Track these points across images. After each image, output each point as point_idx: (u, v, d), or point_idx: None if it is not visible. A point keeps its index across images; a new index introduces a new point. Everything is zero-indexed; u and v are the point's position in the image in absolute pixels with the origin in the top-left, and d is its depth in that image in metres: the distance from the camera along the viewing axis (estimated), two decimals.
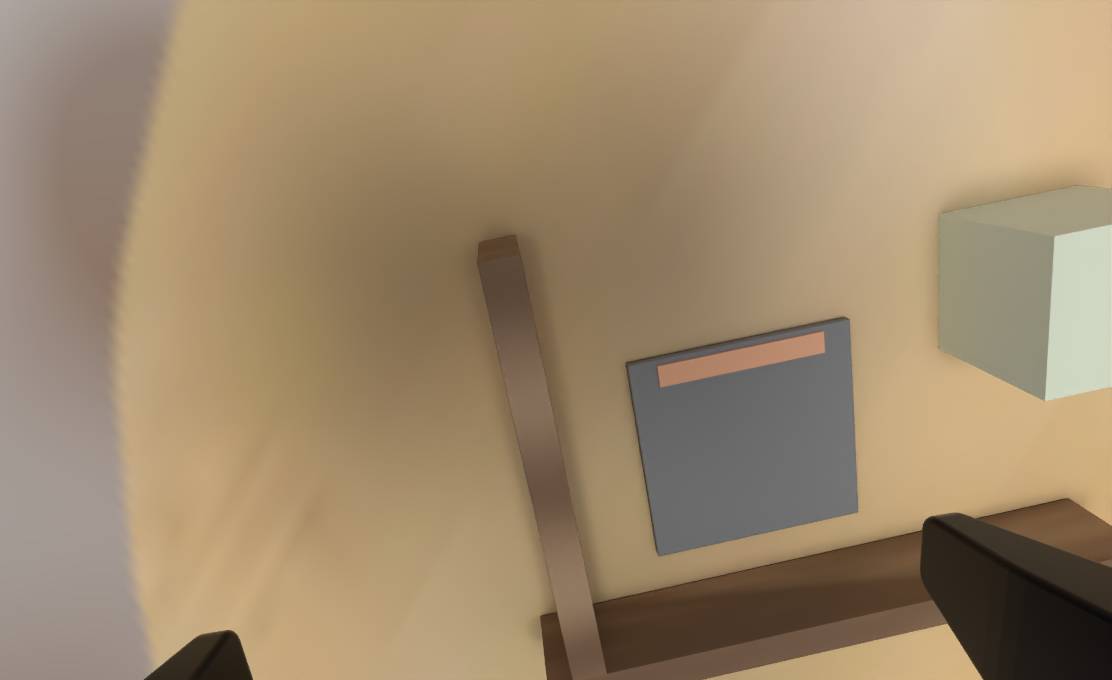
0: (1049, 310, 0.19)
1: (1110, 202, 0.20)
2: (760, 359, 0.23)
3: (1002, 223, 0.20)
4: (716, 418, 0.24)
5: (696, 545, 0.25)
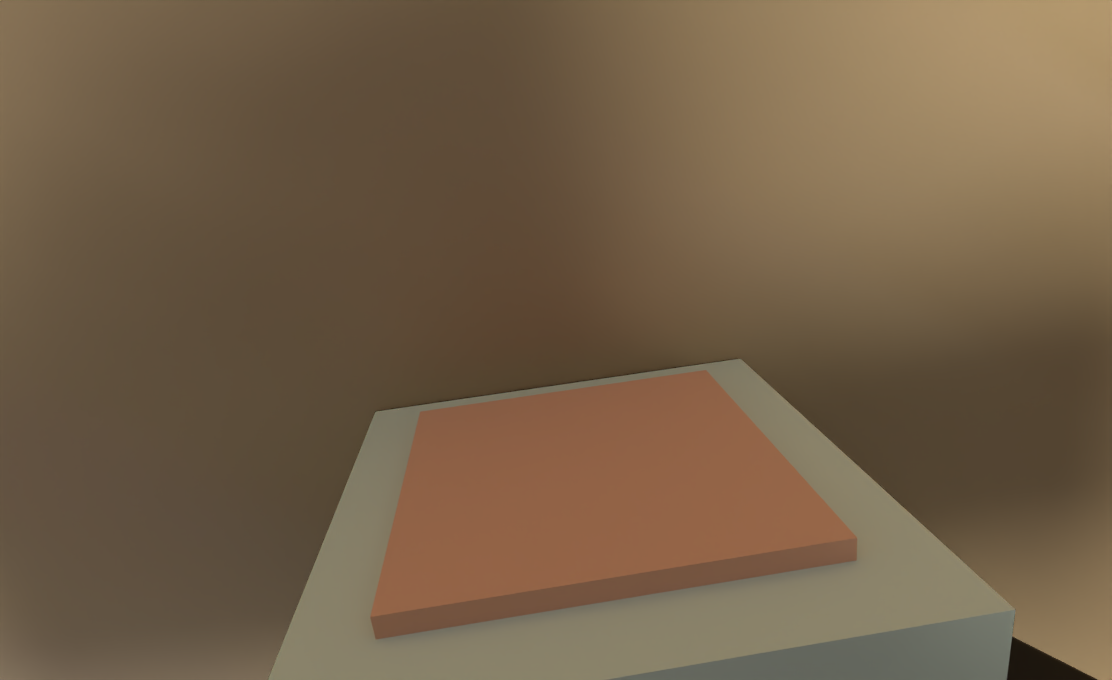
0: None
1: None
2: None
3: None
4: None
5: None
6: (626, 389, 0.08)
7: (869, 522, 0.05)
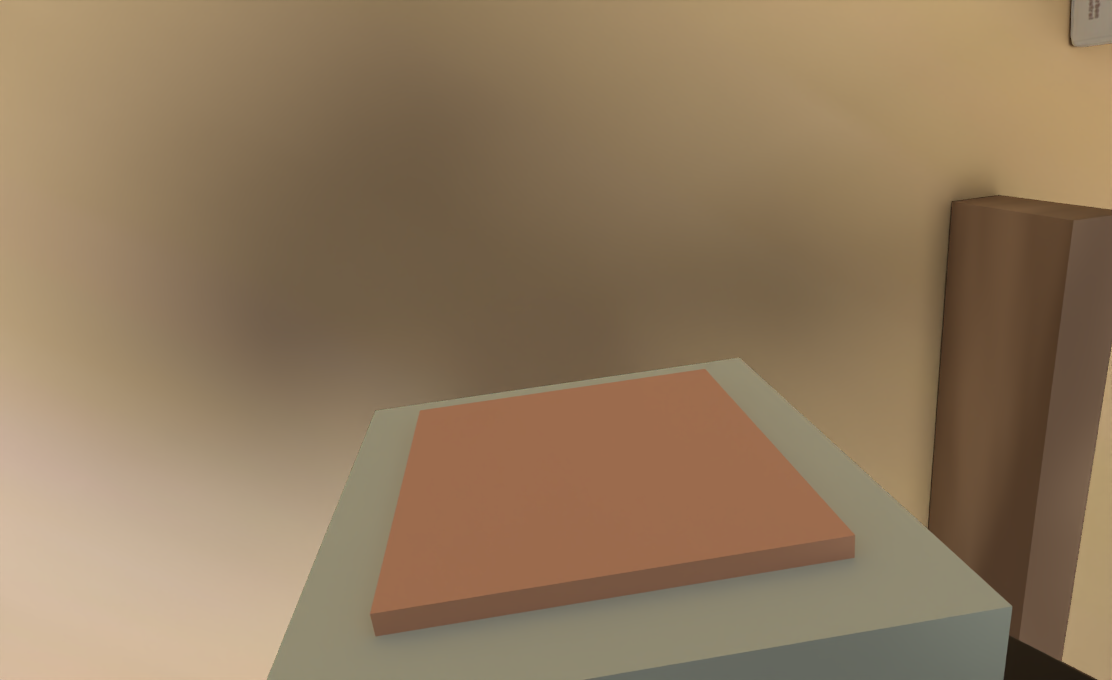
0: None
1: None
2: None
3: None
4: None
5: None
6: (625, 388, 0.08)
7: (867, 520, 0.05)
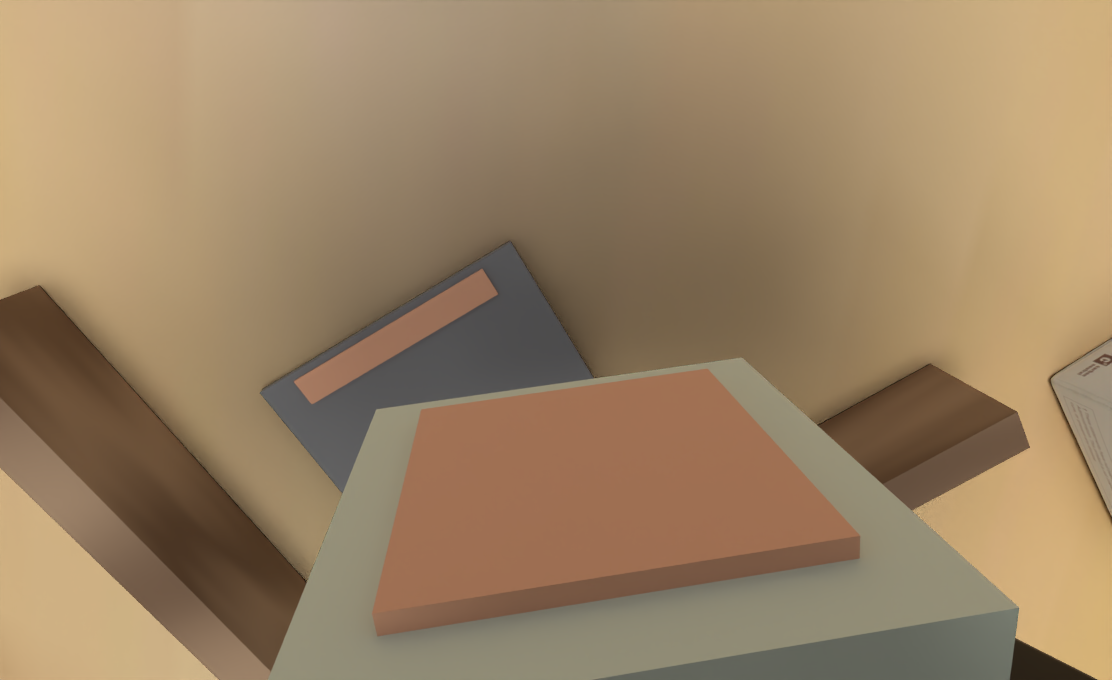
0: None
1: None
2: (418, 330, 0.18)
3: None
4: None
5: None
6: (627, 387, 0.08)
7: (872, 520, 0.05)
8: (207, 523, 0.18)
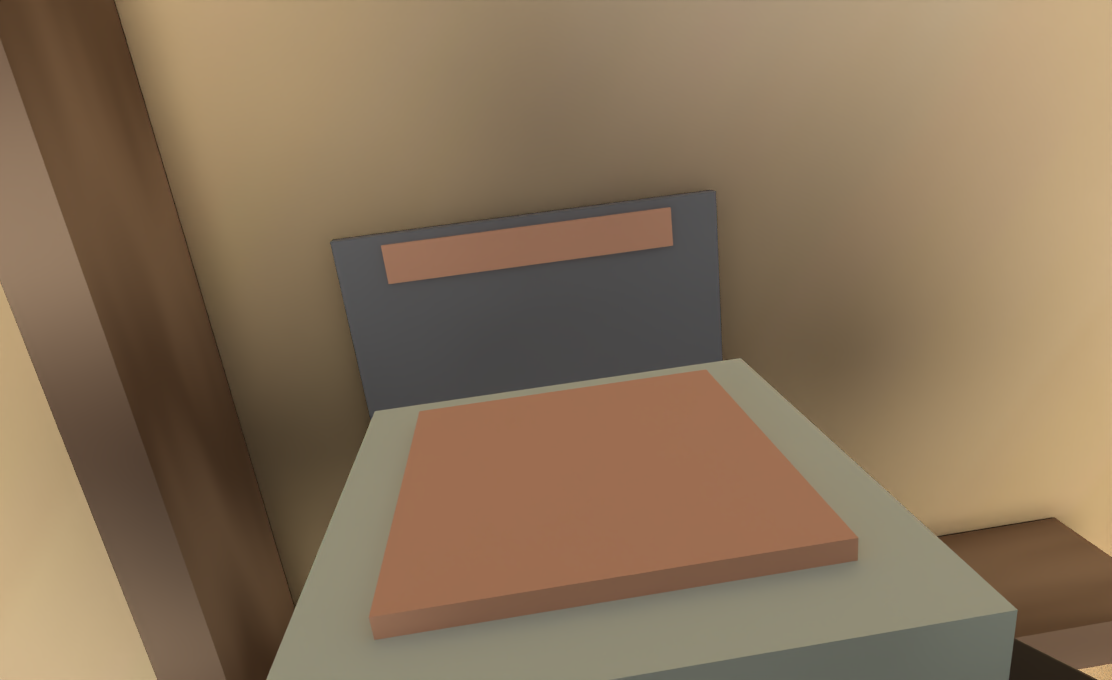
0: None
1: None
2: (562, 248, 0.14)
3: None
4: (491, 347, 0.14)
5: None
6: (626, 388, 0.08)
7: (870, 522, 0.05)
8: (190, 380, 0.13)
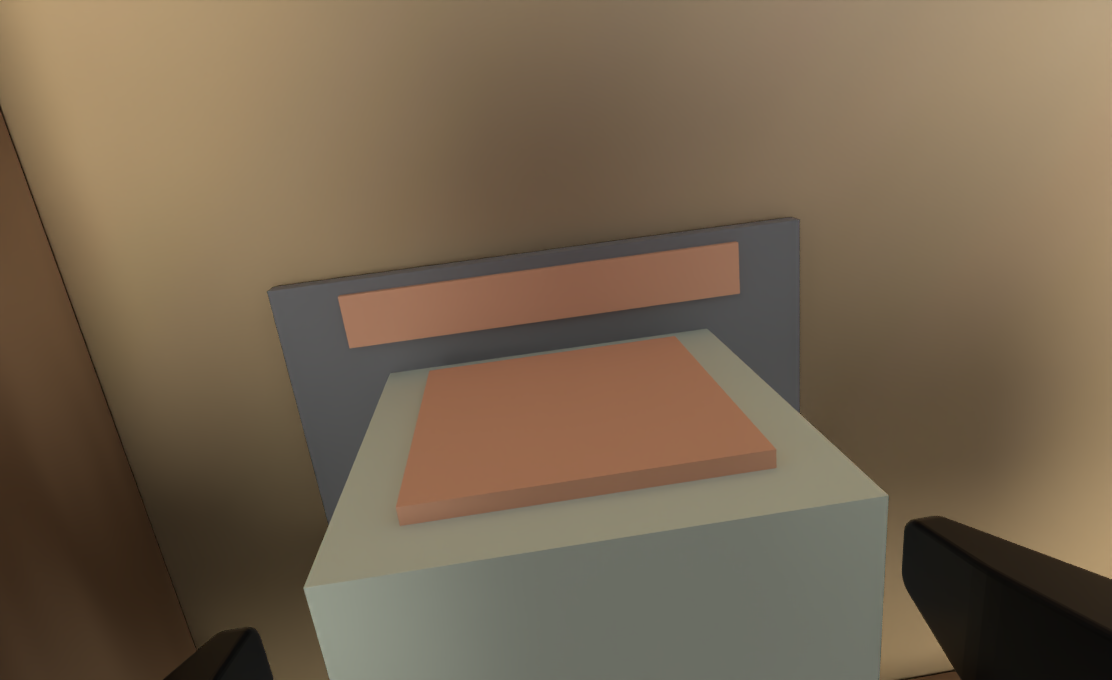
0: None
1: None
2: (588, 298, 0.10)
3: None
4: None
5: None
6: (605, 351, 0.09)
7: (792, 443, 0.07)
8: (65, 490, 0.09)
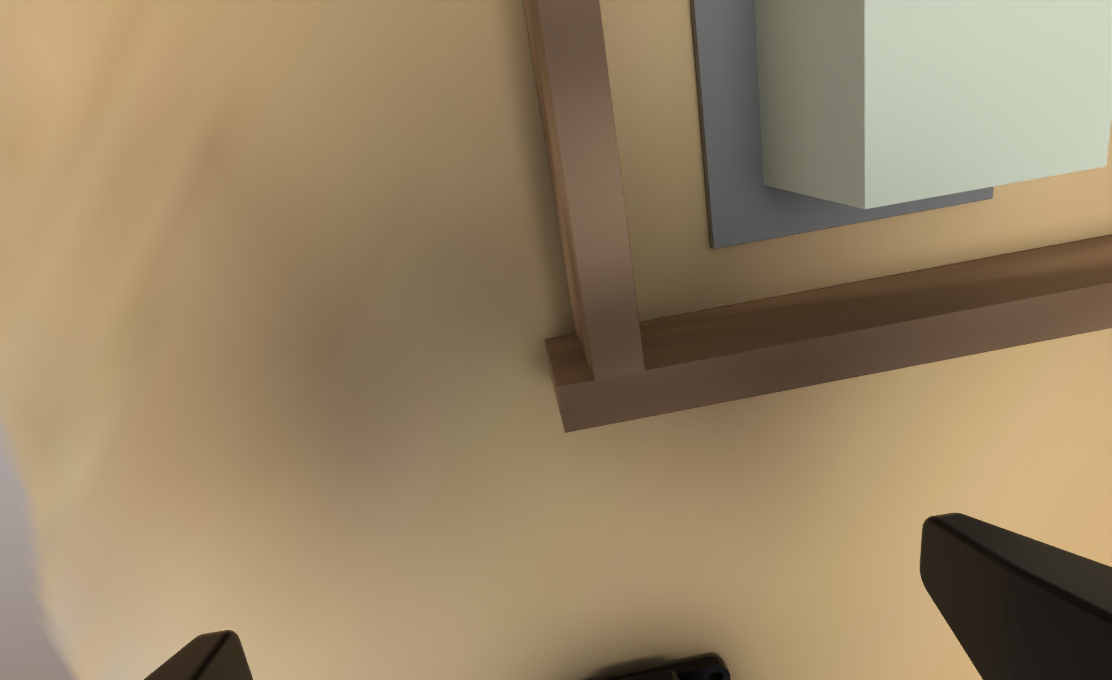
0: (967, 190, 0.13)
1: (810, 26, 0.14)
2: None
3: (810, 182, 0.15)
4: None
5: (767, 235, 0.18)
6: None
7: None
8: None
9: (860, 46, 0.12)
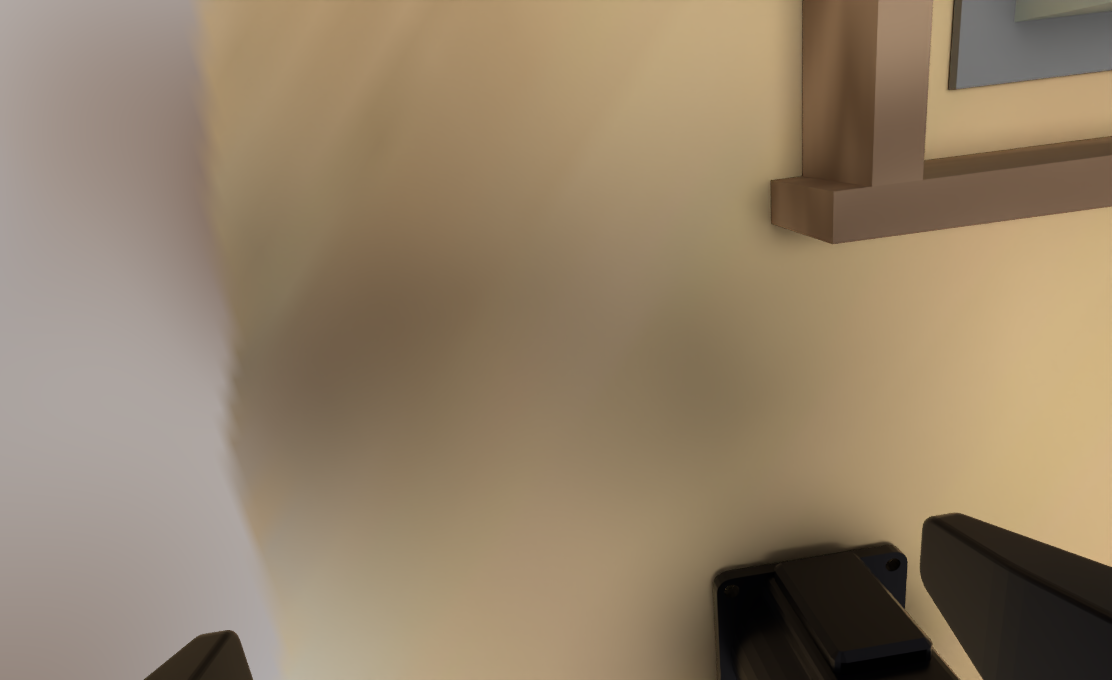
0: None
1: None
2: None
3: None
4: None
5: (1010, 77, 0.18)
6: None
7: None
8: None
9: None
